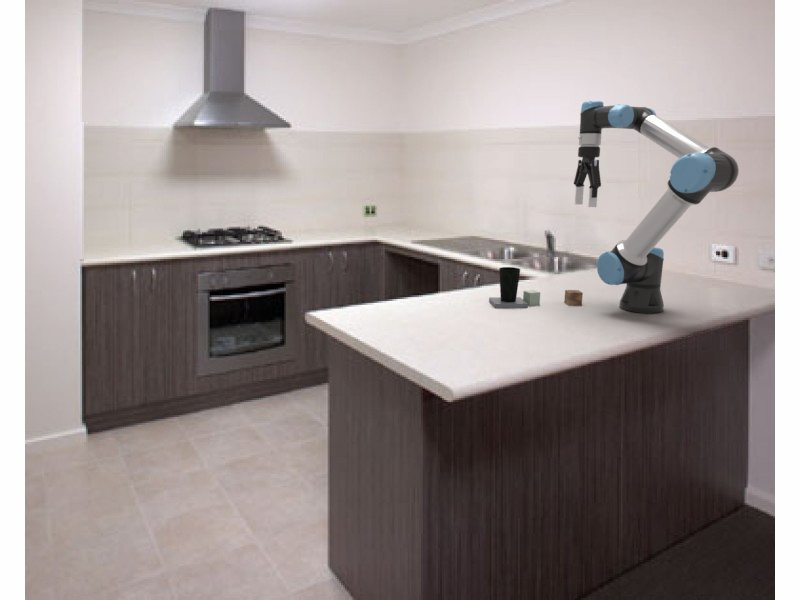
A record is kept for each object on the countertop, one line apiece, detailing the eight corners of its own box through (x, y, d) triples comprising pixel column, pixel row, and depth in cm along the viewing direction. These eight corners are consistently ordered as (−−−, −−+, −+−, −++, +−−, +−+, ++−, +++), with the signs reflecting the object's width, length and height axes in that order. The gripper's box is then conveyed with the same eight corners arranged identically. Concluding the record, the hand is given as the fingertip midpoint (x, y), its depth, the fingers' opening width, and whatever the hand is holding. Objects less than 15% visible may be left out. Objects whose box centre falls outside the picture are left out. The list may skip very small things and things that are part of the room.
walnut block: (577, 302, 241) (578, 290, 240) (581, 305, 237) (582, 292, 236) (564, 302, 241) (565, 290, 240) (568, 305, 236) (569, 292, 235)
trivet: (519, 301, 243) (520, 297, 242) (527, 307, 232) (528, 303, 231) (489, 301, 242) (489, 297, 241) (495, 308, 231) (495, 303, 231)
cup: (493, 300, 236) (495, 268, 234) (506, 297, 242) (507, 266, 239) (510, 303, 231) (512, 271, 228) (522, 300, 236) (524, 268, 234)
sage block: (532, 303, 240) (533, 290, 239) (539, 305, 236) (540, 292, 235) (522, 303, 239) (523, 290, 238) (529, 306, 235) (530, 293, 234)
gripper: (567, 146, 240) (563, 203, 244) (592, 145, 215) (588, 208, 220) (586, 146, 240) (582, 203, 245) (613, 145, 216) (608, 208, 221)
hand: (585, 205), depth 232 cm, fingers open, 13 cm apart
